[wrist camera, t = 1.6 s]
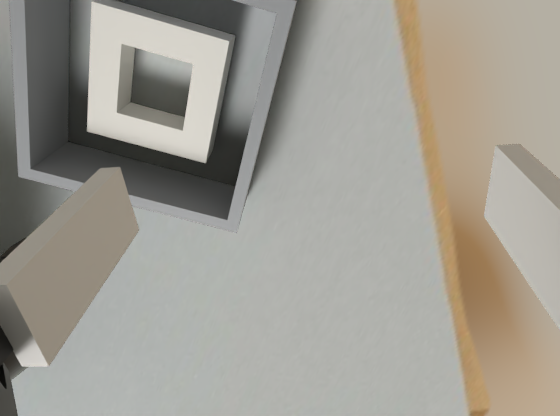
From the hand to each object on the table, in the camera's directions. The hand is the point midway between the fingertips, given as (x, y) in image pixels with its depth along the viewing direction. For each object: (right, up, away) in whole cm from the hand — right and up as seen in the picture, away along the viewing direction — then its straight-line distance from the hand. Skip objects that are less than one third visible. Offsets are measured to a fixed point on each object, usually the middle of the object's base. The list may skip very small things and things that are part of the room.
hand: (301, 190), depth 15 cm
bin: (-10, +10, +20) cm, 25 cm away
